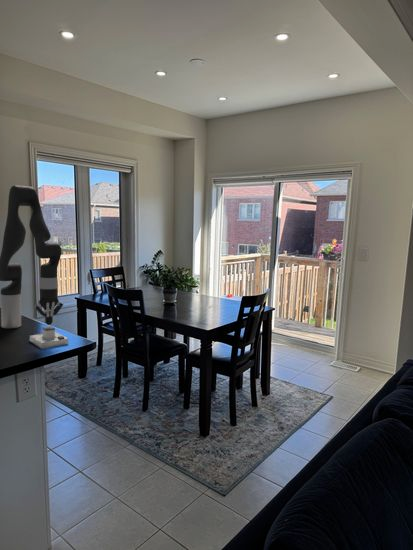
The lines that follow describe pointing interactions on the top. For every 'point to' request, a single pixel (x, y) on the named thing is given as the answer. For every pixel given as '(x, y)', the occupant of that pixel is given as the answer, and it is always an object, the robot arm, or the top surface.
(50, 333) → the plug
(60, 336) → the socket
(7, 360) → the top surface
